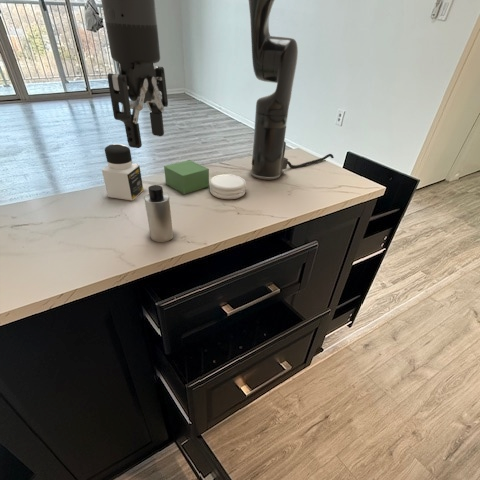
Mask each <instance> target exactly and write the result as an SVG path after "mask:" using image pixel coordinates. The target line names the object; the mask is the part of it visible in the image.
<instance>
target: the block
mask: <svg viewBox="0 0 480 480" xmlns="http://www.w3.org/2000/svg"><path fill="white" fill-rule="evenodd" d="M163 170H164V171H163V172H164V179H165V185H168V186H169V187H171V188H173V189H174V190H176V191H178V192H179V193H181V194H183V195H187V194H189V193H193V192H196V191H199V190H203V189H205V188H210V169H209V168H208V167H206V166H204V165H201V164H199V163H197V162H195V161H193V160H191V159H189V160H184V161H180V162H179V161H178V162H175V163H171V164H167V165H164V166H163Z"/></svg>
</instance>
